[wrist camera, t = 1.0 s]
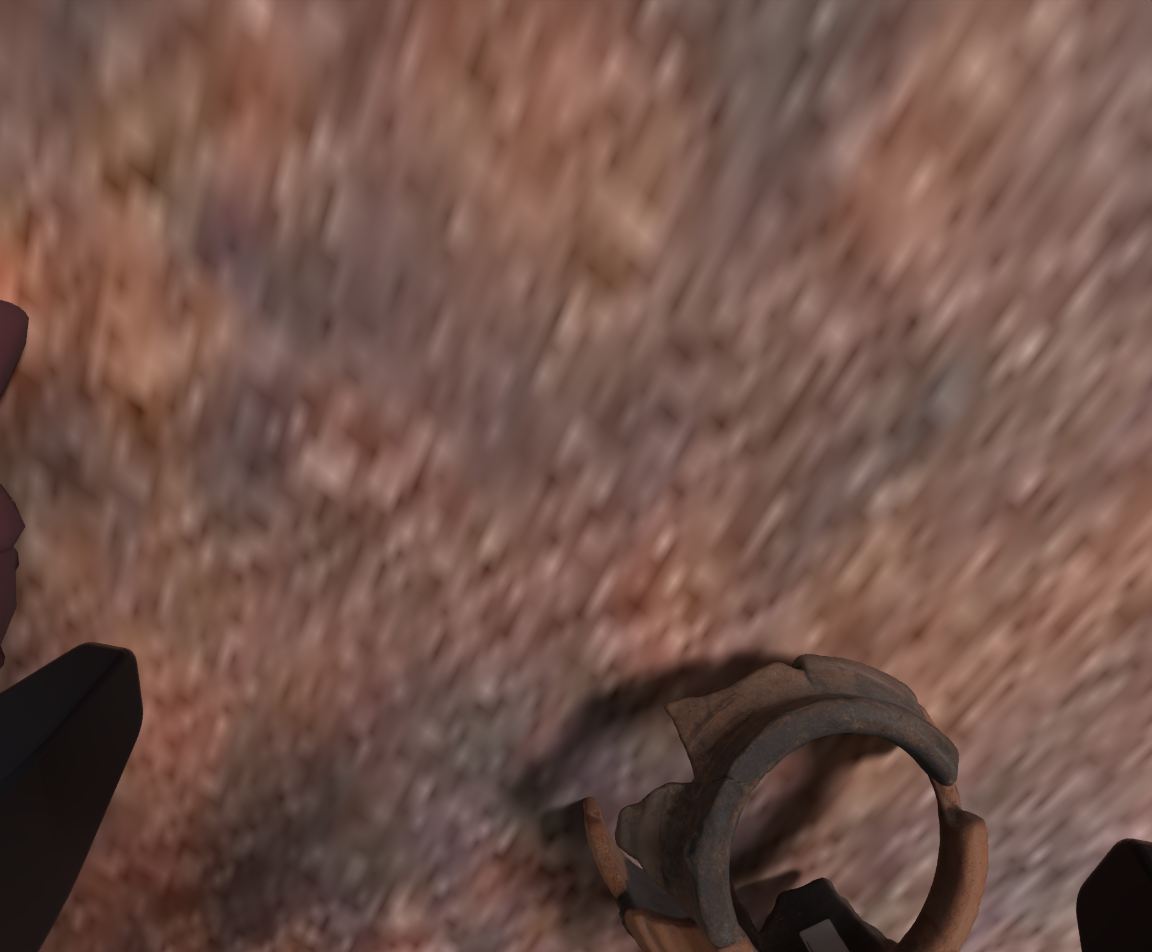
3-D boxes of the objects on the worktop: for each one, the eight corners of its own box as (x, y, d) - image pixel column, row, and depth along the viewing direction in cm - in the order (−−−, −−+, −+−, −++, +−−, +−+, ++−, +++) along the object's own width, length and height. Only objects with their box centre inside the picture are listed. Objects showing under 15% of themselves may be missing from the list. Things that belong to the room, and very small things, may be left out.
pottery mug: (498, 734, 27) (576, 828, 19) (758, 557, 30) (921, 577, 22) (704, 1068, 29) (854, 1284, 21) (936, 874, 31) (1152, 1002, 23)
